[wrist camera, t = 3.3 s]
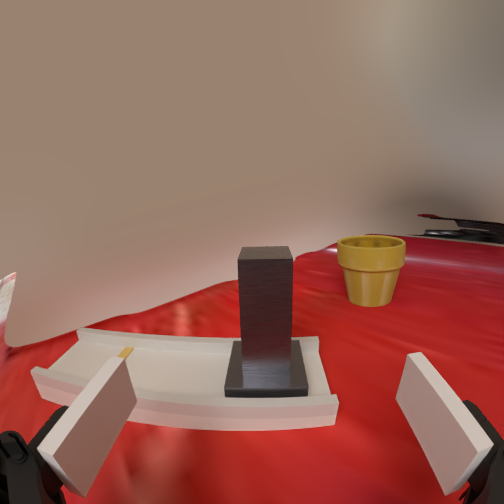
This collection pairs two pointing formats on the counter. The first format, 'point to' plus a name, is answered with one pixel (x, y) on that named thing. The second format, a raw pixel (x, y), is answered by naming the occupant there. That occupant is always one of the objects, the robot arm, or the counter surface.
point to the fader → (266, 329)
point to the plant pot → (371, 267)
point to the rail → (186, 382)
